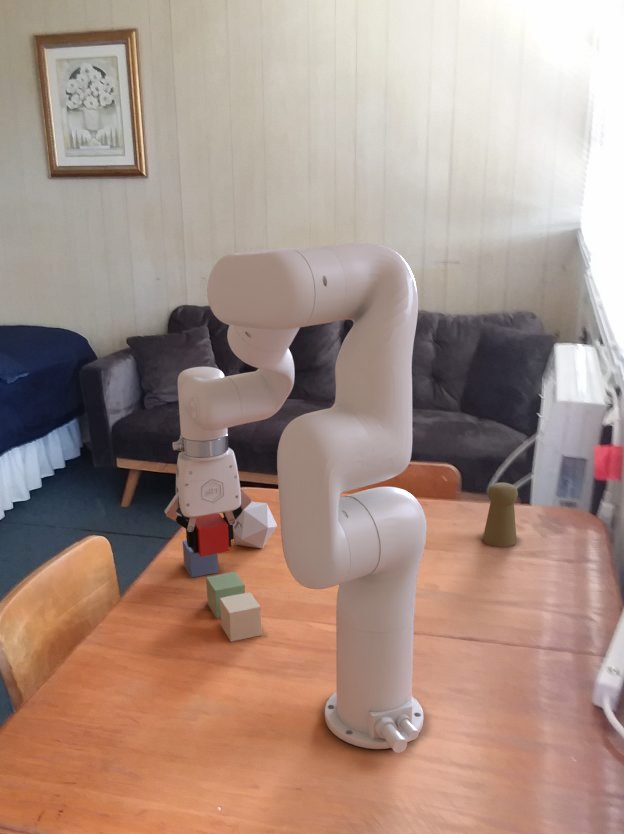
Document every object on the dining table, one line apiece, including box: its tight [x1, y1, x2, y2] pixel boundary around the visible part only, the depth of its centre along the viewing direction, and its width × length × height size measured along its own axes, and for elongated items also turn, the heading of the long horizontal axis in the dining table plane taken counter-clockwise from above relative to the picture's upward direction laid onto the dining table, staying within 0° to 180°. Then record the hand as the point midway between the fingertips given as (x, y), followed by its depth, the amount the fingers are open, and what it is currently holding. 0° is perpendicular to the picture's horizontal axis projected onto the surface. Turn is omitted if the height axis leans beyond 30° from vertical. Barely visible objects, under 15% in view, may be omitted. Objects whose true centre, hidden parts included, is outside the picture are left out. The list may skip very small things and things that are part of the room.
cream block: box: [220, 591, 263, 643], centre depth 129 cm, size 5×5×5 cm
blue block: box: [182, 539, 219, 578], centre depth 150 cm, size 5×5×5 cm
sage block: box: [205, 571, 246, 619], centre depth 136 cm, size 5×5×5 cm
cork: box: [482, 482, 519, 548], centre depth 155 cm, size 6×6×11 cm
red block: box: [195, 513, 230, 557], centre depth 140 cm, size 5×5×5 cm
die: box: [233, 500, 278, 549], centre depth 158 cm, size 8×9×10 cm
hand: (210, 545), depth 141 cm, fingers closed on red block, 5 cm apart
